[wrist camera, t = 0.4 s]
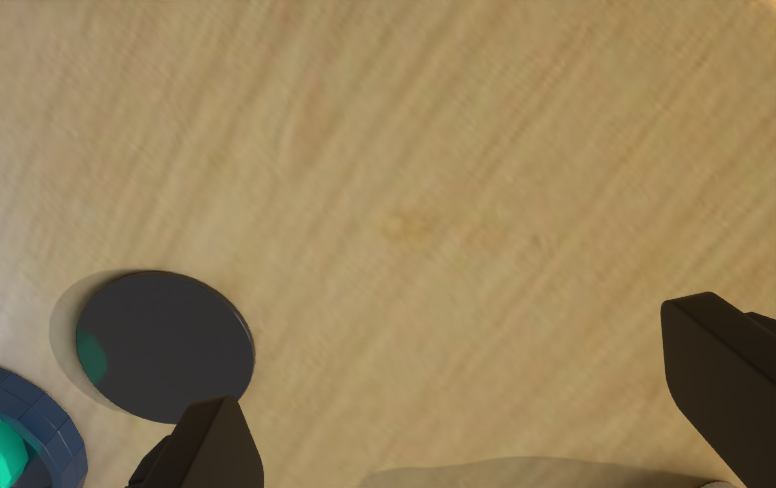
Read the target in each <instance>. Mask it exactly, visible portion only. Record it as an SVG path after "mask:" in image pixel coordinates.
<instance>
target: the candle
mask: <svg viewBox="0 0 776 488" xmlns="http://www.w3.org/2000/svg"><path fill="white" fill-rule="evenodd" d="M28 458H29V457H28V454H27V451H26V448H25V444H24V441H23V438H22V437H21V436H20V435H19V434H18V433H16V432H15V431H14V430H13V429H12V428H11V427H10V426H9V425H8V424H6V423H4V422H3V421H1V420H0V488H11V486H12V485H13V484H14V483H15V482H16V481H17V479H18V478H19V477H20V476H21V475H22V473H23V470H24V468H25V466H26V463H27V461H28Z"/></svg>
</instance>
